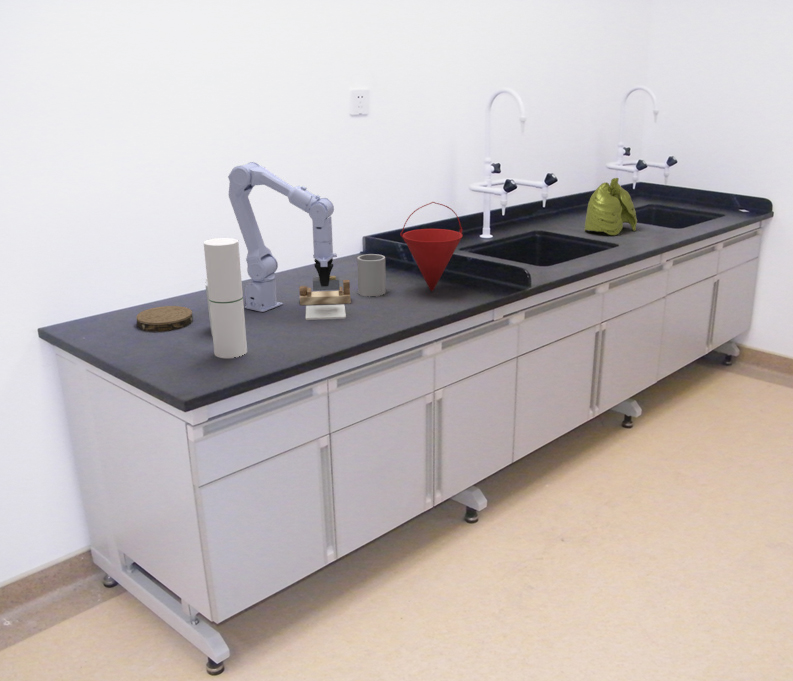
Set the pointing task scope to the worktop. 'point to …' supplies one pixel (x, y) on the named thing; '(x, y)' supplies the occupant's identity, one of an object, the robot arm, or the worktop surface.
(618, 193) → the lungs
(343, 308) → the white base plate
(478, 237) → the worktop surface
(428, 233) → the fire bucket
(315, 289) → the lever cap
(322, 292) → the wooden block stand
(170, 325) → the wood slice
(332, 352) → the worktop surface
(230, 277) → the container
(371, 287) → the cup
